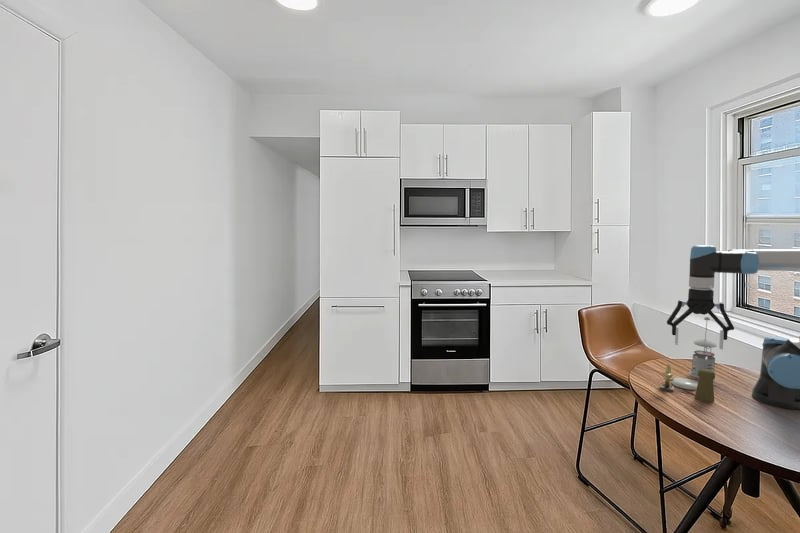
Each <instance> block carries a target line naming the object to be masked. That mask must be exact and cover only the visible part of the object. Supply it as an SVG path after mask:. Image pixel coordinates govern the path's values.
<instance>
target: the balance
mask: <svg viewBox="0 0 800 533" xmlns="http://www.w3.org/2000/svg"><path fill="white" fill-rule="evenodd" d="M661 375H662V376H663V377H662V379H663V380H664V383H660V386H659V390H662V391H666V392H670V393H674V391H675V386H674V385H671V382H672V381H674V378H675V377H674V373H672V366H671V365H670V364H669V363H667V364H666V365H665V371H663V372H661Z"/></svg>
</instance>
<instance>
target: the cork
mask: <svg viewBox="0 0 800 533" xmlns="http://www.w3.org/2000/svg"><path fill="white" fill-rule="evenodd" d="M698 376H699V378H698V381H697V382H698V385H697V389H696V390H695V395H694V399H695V400H697V401H699V402H703V403H715V391H714V388H715V387H714V381H715V379H714V378H715V376H716V373H715V371H714V372H713V370H708V369H700V370H699V371H698Z"/></svg>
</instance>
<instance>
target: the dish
mask: <svg viewBox="0 0 800 533" xmlns="http://www.w3.org/2000/svg"><path fill="white" fill-rule="evenodd" d="M673 378H674V381H671V384H672V386H674V387H676V388H679V389H682V390H687V391H696V389H697V385H698V381H697V380H695V379H691V378H687V377H686V378H684V377H673Z"/></svg>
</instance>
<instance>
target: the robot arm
mask: <svg viewBox="0 0 800 533" xmlns="http://www.w3.org/2000/svg"><path fill="white" fill-rule="evenodd" d="M759 271H777V272H800V249H739V248H732V249H728V250H727V251H722V250H721V251H720V250H718V251H717V248H716V246H715V245H704V244H703V245H700V244H699V245H693V246H691V249H690V256H689V278H688V287H689V288H688V292H687V293H688V294H687V295H688V297H687V298H688V299H687V300H686V301H685V300H682V299H678V300H677V303H676V304H677V305H676V307H675V308H674V309H673V311H672V313H671V314H670V316H669V317H668V319H667V321H666V324H667V325H668V326H671V334H672V336H674V344H675V345H676V346H677V345H678V344H679V325H680V323H682V322H683V321H684V320H686V318H687V317H689V316H690V315H691V314H692V313H693V314H694V315H704V316H705V315H707V314H708V315H709V316H710V317H711V318H712V319H713V320H714V321H715V323H717V325H718V326H720V328H721V329H719V343H718V344H719V345H718V346H719V350H724V341H727V340H728V332H729V331H734V330H735V326H734V325H733V323H732V321H731V320H730V318H729V316H728V314H727V312H726V310H725V304H724V303H723V302H714V296H715V293H714V292H715V291H714V288H715V273H719V274H721V273H724V274H741V275H754V274H757V273H758V272H759ZM685 306H687V308H688V309H687V310H685V311H684V312H683V314H681V315H680V316H679V317H678V318H676V316H678V314H679V312H680V310H681V309H682V308H683V307H685ZM714 308H716V309H718V310H719V311H720V313H721V314H722V315H721V316H723V319H724V320H725V322H726V324H727V325H725V324H724V323H723V322H722V321H721V320H720V318H719V317H718V316H717V315H716V314H715V313H714V311H712V310H713V309H714ZM675 318H676V319H675ZM761 352H762V354H761V361H760V362H761V363H760V372H759V373H760V375H759V377H758V379H757V381H756V383H754V386H753V388H752V393H751V397H752V398H753V399H754V400H757V401H758V402H761V403H763V404H766V405H770V406H773V407H777V408H782V409H790V410H800V335H799V336H798V337H796V338H795V337H793V338H792V337H791V338H785V337H777V336H767V337H764V338H763V343H762V351H761Z"/></svg>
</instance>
